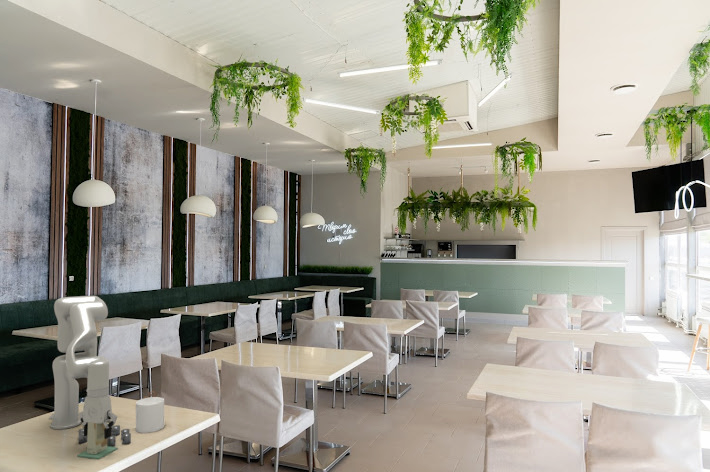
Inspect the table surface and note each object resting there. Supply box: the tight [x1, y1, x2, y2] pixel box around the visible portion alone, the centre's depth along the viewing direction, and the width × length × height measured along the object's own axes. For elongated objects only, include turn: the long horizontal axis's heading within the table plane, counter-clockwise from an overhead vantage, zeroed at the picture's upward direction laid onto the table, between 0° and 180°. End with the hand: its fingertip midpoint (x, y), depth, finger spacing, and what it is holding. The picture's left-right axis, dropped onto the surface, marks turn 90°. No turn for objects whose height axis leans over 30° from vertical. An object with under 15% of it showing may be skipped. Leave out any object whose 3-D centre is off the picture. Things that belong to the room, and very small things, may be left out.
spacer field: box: [78, 424, 132, 447], centre depth 204 cm, size 25×16×4 cm, turn 74°
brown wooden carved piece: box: [142, 390, 157, 399], centre depth 233 cm, size 9×4×12 cm, turn 122°
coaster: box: [76, 446, 119, 460], centre depth 192 cm, size 10×10×1 cm
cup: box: [135, 396, 165, 434], centre depth 218 cm, size 12×12×12 cm
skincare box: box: [86, 422, 109, 454], centre depth 192 cm, size 6×4×12 cm
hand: (97, 436), depth 192 cm, fingers open, 9 cm apart
